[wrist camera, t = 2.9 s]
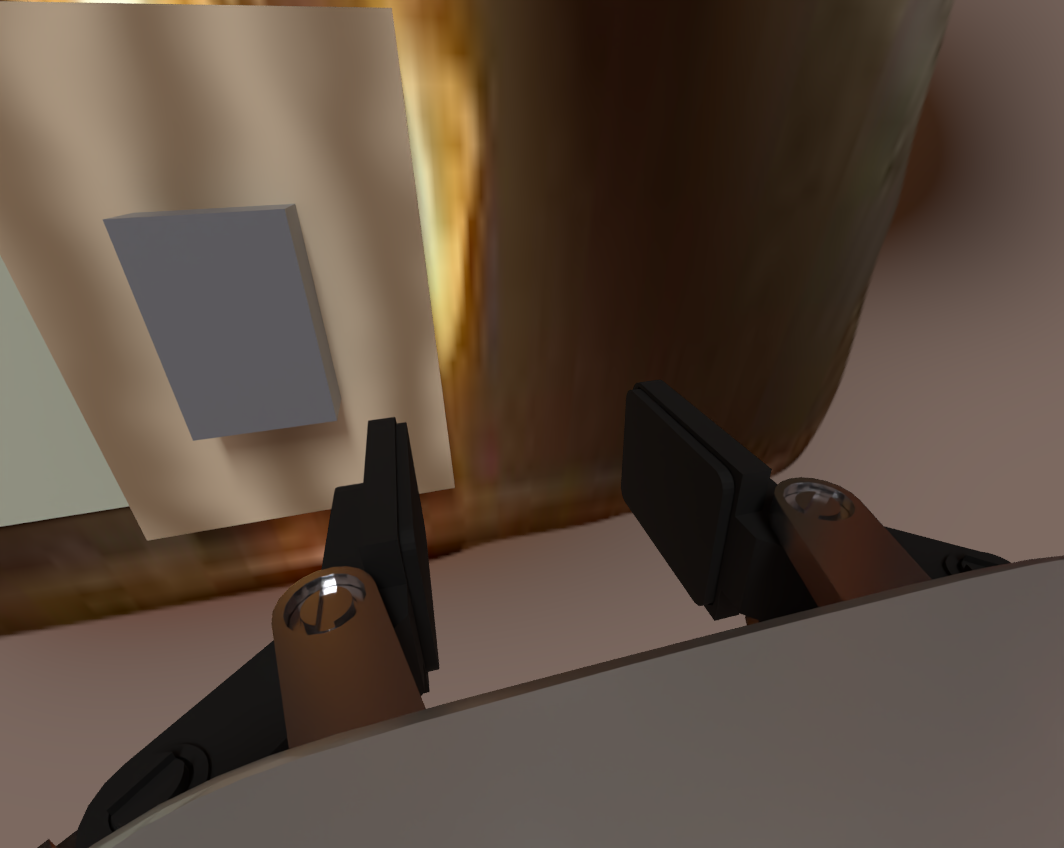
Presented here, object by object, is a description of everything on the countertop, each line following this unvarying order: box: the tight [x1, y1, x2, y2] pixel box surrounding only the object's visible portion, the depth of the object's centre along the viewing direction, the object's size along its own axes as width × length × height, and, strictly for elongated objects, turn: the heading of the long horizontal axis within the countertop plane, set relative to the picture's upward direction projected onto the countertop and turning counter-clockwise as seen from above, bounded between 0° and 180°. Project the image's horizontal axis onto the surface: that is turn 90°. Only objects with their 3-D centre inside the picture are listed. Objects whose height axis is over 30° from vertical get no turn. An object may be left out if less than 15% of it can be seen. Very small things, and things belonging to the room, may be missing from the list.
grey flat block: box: [103, 204, 341, 441], centre depth 22 cm, size 6×9×2 cm, turn 2°
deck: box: [0, 1, 455, 540], centre depth 24 cm, size 16×22×4 cm
